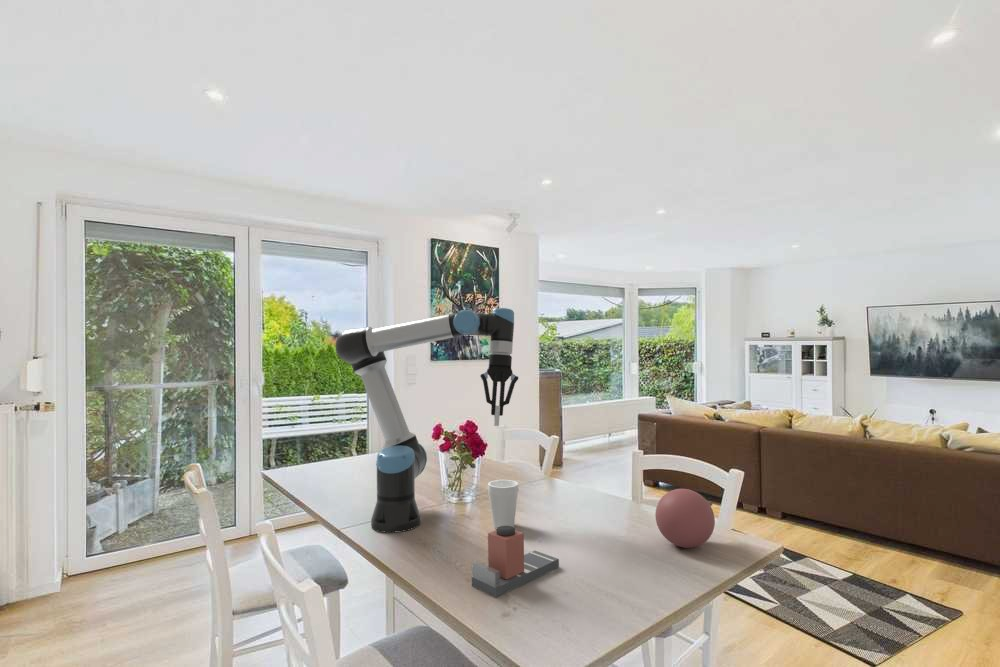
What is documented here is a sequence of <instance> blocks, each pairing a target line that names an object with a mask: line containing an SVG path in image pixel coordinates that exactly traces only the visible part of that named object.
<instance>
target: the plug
mask: <svg viewBox="0 0 1000 667" xmlns="http://www.w3.org/2000/svg"><path fill="white" fill-rule="evenodd" d="M524 536H525V534H524V532H523V531H518V530H516V528H515V526H514V527H512V526H500V527H498V528H497V529H496V530H494V531H491V532H488V533H487V555H488V556H487V559H488V560H487V566H489V567H491V568H494V569H496V570H498V571H500V577H502V578H504V579H506V580H507V579H509V578H511V577H513V576H515V575H518V574H520V573H522V572H524V555H525V538H524Z"/></svg>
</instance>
